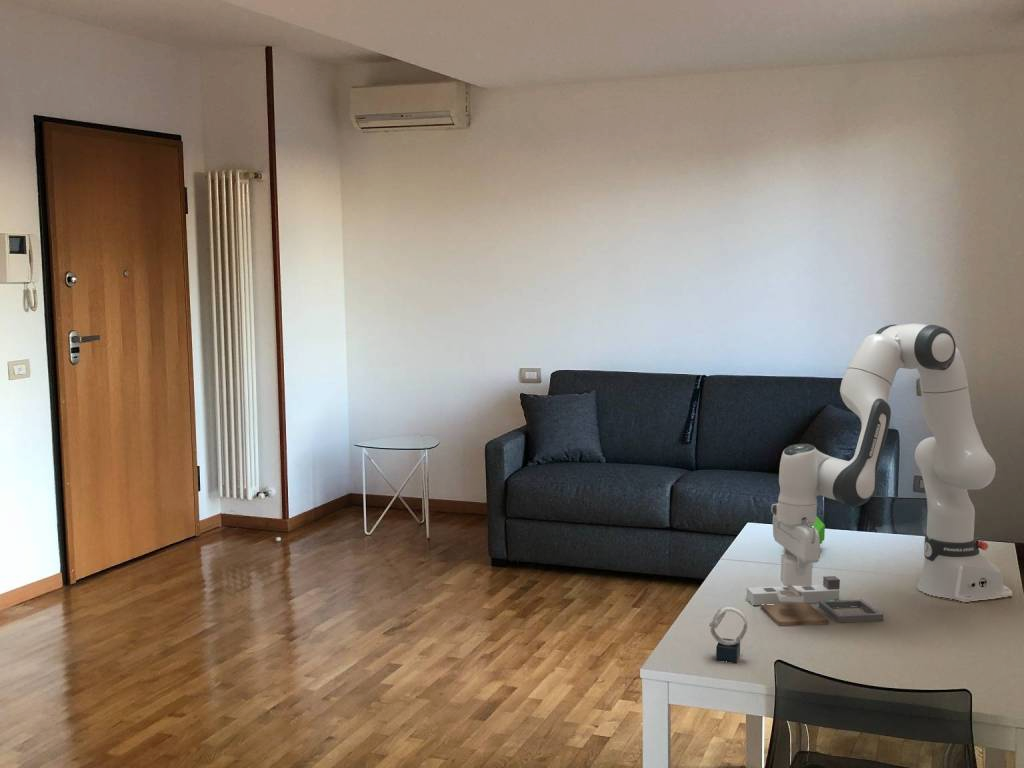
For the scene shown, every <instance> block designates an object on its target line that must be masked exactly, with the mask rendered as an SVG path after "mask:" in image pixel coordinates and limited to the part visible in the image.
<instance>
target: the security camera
mask: <svg viewBox="0 0 1024 768" xmlns="http://www.w3.org/2000/svg"><path fill="white" fill-rule="evenodd" d="M780 560H781V561H780V581H781V583H782V584H783V586H787V587H788V588H789V589H790V590H777V596H778V598H779V600H780V601H782V602H804V596H803V594H802V593H801V591H800V590H796V589H795V588H794V587H793V586H809V587H811V585H813V584H812V581H813V580H812V578H813V577H812V576H813V563H807V565H806V568H805V574H804V575H798V574H797V573H796V572H797V564H798V561H797V557H796V556H795V555H785V554H784V553H783V554H781V559H780Z"/></svg>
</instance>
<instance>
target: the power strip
mask: <svg viewBox="0 0 1024 768" xmlns="http://www.w3.org/2000/svg"><path fill="white" fill-rule="evenodd" d="M822 577H823V578H822V580H823V581H822V584H811V587H809V586H793V587H794V588H795V589H796V590H800V591H801V593H802V594H803V596H804V602H782V601H780V600H779V598H778V596H777V590H790V589H789V588H788V587H787V586H784V585H780V586H779V585H778V586H758V587H757V586H755V587H752V586H751V587H746V598H745V599H746V600H747V601H748V600H749V601H750V602H751V603H752V604H753V605H762V604H764V605H767V604H797V603H809V604H819V601H829V600H834V601H837V600H840V588H841V587H840V585H841V584H840V583H841V579H840V578H839V577H837V576H836V575H830V576H828V575H827V576H822ZM749 601H748V602H749ZM750 602H749V603H750ZM751 603H750V604H751ZM752 604H751V605H752ZM753 605H752V606H753Z"/></svg>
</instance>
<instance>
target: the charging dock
mask: <svg viewBox="0 0 1024 768" xmlns="http://www.w3.org/2000/svg"><path fill="white" fill-rule="evenodd" d="M851 606H860V607H862V608H863V609H864V610H863V609H862V608H861V609H862V610H863V611H864V612H866V613H853V614H852V613H851V614H850V613H849V614H848V613H847V614H840V613H839V612H838V611H836V610H835V609H837V607H844V608H852V607H851ZM860 607H859V608H860ZM818 608H819V609H820V610H822V612H823V613H825V614H827V615H828V616H829V617H830V618H832V619H833V620H834V621H835V622H836V623H856V622H857V621H863V622H879V620H882V621H884V620H883V617H884V616H883V615H884V614H883V613H881V611H878V610H877V609H876V608H875V607H873V606H872V605H870V604H869V602H866V601H865V600H863V599H842V600H840V599H839V600H837V601H834V600H829V601H819V603H818ZM867 612H868V613H867ZM857 623H858V622H857Z"/></svg>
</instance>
